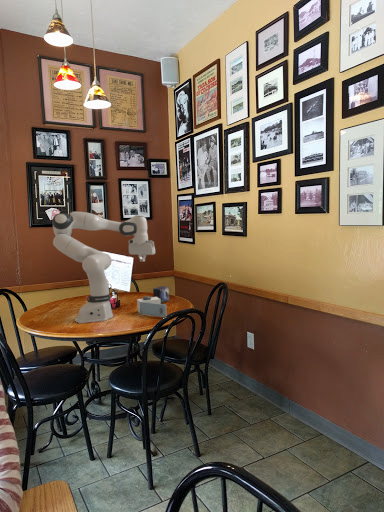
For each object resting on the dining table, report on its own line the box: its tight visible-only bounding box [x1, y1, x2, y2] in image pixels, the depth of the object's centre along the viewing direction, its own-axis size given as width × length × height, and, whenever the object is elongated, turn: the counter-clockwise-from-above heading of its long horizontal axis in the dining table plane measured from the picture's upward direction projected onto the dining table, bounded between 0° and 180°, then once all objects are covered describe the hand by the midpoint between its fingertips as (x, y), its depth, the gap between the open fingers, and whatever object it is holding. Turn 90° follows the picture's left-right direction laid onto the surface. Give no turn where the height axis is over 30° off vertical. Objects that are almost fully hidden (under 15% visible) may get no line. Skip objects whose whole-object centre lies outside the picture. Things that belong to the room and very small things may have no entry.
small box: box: [152, 285, 170, 304], centre depth 251 cm, size 11×6×10 cm, turn 146°
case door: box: [140, 302, 168, 318], centre depth 213 cm, size 20×2×8 cm, turn 58°
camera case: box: [136, 295, 162, 315], centre depth 226 cm, size 13×8×10 cm, turn 114°
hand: (142, 261), depth 233 cm, fingers closed
